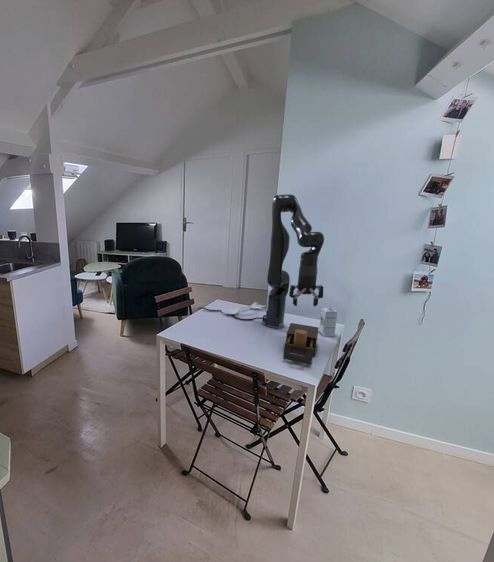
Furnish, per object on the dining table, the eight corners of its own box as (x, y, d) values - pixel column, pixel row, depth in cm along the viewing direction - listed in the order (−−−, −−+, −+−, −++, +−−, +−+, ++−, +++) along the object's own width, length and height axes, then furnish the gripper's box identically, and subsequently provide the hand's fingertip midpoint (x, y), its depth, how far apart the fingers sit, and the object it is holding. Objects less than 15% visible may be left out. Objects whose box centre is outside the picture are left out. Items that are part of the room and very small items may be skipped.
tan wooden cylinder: (291, 355, 147) (294, 332, 144) (293, 351, 151) (295, 328, 148) (304, 358, 144) (306, 334, 141) (305, 353, 148) (307, 330, 145)
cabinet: (314, 356, 149) (316, 338, 146) (284, 350, 156) (286, 332, 153) (316, 344, 160) (318, 327, 158) (288, 339, 167) (290, 322, 165)
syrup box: (334, 336, 168) (338, 311, 165) (322, 336, 170) (326, 311, 166) (330, 332, 174) (333, 307, 170) (318, 331, 175) (321, 307, 171)
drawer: (310, 369, 137) (312, 353, 135) (281, 362, 143) (283, 347, 141) (313, 352, 151) (315, 337, 149) (287, 347, 157) (288, 333, 155)
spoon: (266, 309, 211) (266, 304, 210) (227, 317, 201) (227, 312, 200) (256, 305, 220) (256, 301, 219) (218, 313, 209) (218, 308, 208)
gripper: (321, 272, 152) (318, 303, 155) (289, 272, 155) (286, 303, 159) (327, 275, 145) (324, 308, 148) (293, 275, 148) (290, 307, 152)
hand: (304, 305), depth 154 cm, fingers open, 8 cm apart
